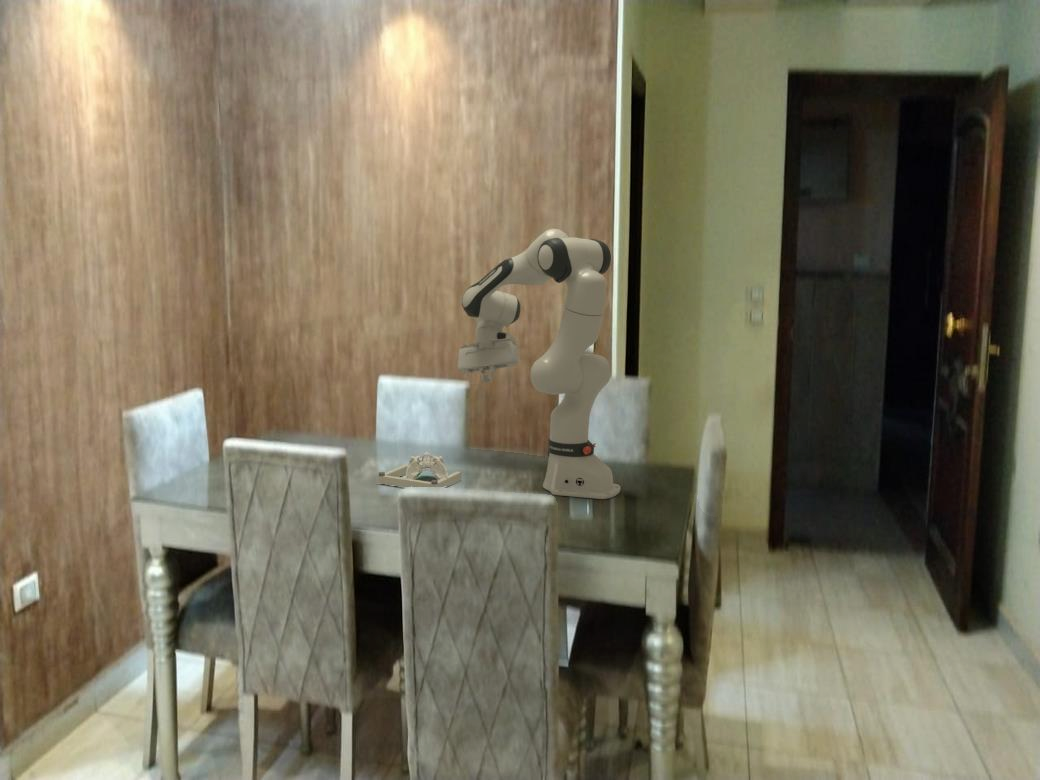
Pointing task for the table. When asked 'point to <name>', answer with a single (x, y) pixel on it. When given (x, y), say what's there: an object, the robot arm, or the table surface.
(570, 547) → the table surface
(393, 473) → the bent beige bar frame
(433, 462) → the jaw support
